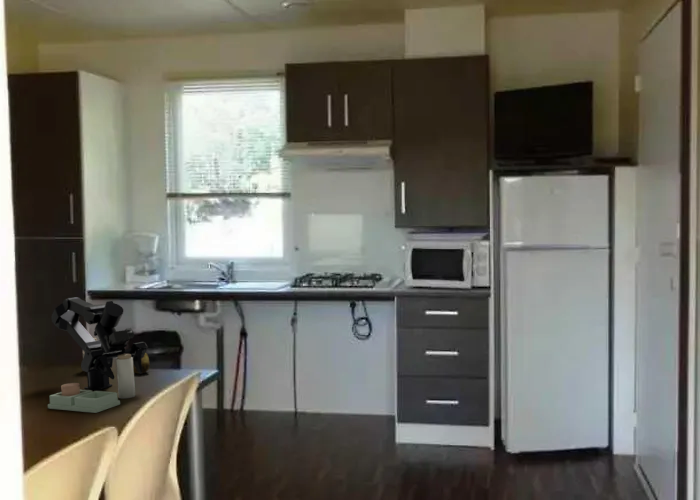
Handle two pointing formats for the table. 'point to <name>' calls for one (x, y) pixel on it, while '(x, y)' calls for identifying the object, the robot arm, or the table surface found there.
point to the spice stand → (82, 399)
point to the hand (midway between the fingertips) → (127, 375)
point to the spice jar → (125, 376)
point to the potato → (143, 364)
